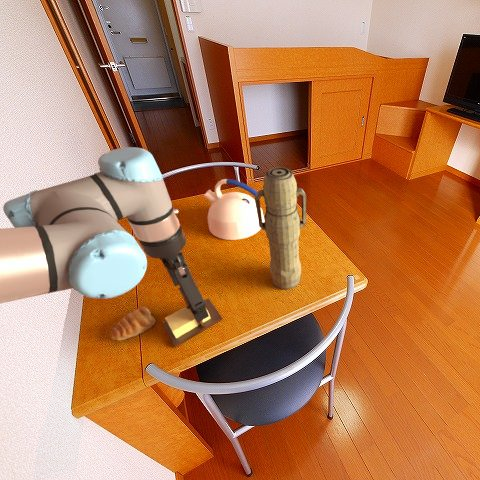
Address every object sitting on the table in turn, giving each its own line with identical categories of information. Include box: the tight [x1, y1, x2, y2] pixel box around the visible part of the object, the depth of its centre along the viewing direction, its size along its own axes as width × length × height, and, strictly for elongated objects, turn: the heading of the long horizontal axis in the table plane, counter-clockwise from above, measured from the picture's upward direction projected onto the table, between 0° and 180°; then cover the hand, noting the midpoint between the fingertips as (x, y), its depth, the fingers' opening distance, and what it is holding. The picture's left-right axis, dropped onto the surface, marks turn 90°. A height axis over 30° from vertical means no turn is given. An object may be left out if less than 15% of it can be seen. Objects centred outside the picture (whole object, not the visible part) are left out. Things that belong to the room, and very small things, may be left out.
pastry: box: [109, 306, 156, 342], centre depth 68 cm, size 9×7×4 cm
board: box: [162, 297, 223, 348], centre depth 70 cm, size 12×8×1 cm, turn 131°
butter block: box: [164, 306, 200, 338], centre depth 68 cm, size 6×5×3 cm
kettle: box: [203, 178, 265, 241], centre depth 97 cm, size 20×21×18 cm
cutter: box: [178, 286, 204, 327], centre depth 68 cm, size 2×7×9 cm, turn 41°
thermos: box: [254, 166, 307, 291], centre depth 72 cm, size 9×12×35 cm
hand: (190, 299), depth 66 cm, fingers open, 13 cm apart
